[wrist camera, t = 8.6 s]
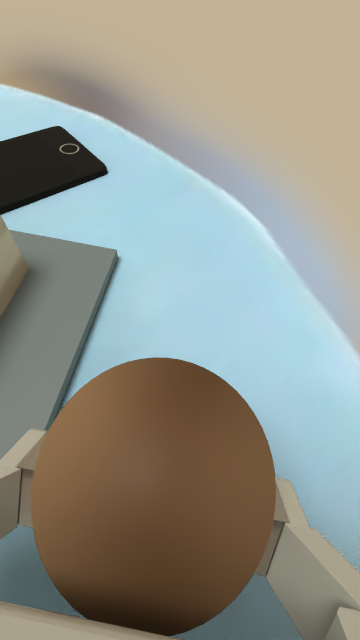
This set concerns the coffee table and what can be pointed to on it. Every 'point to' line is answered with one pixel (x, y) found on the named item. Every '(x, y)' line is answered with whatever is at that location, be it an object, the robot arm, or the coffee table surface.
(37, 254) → the slate board
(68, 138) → the cell phone
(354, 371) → the coffee table surface
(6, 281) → the pedestal
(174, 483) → the walnut column
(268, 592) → the coffee table surface
